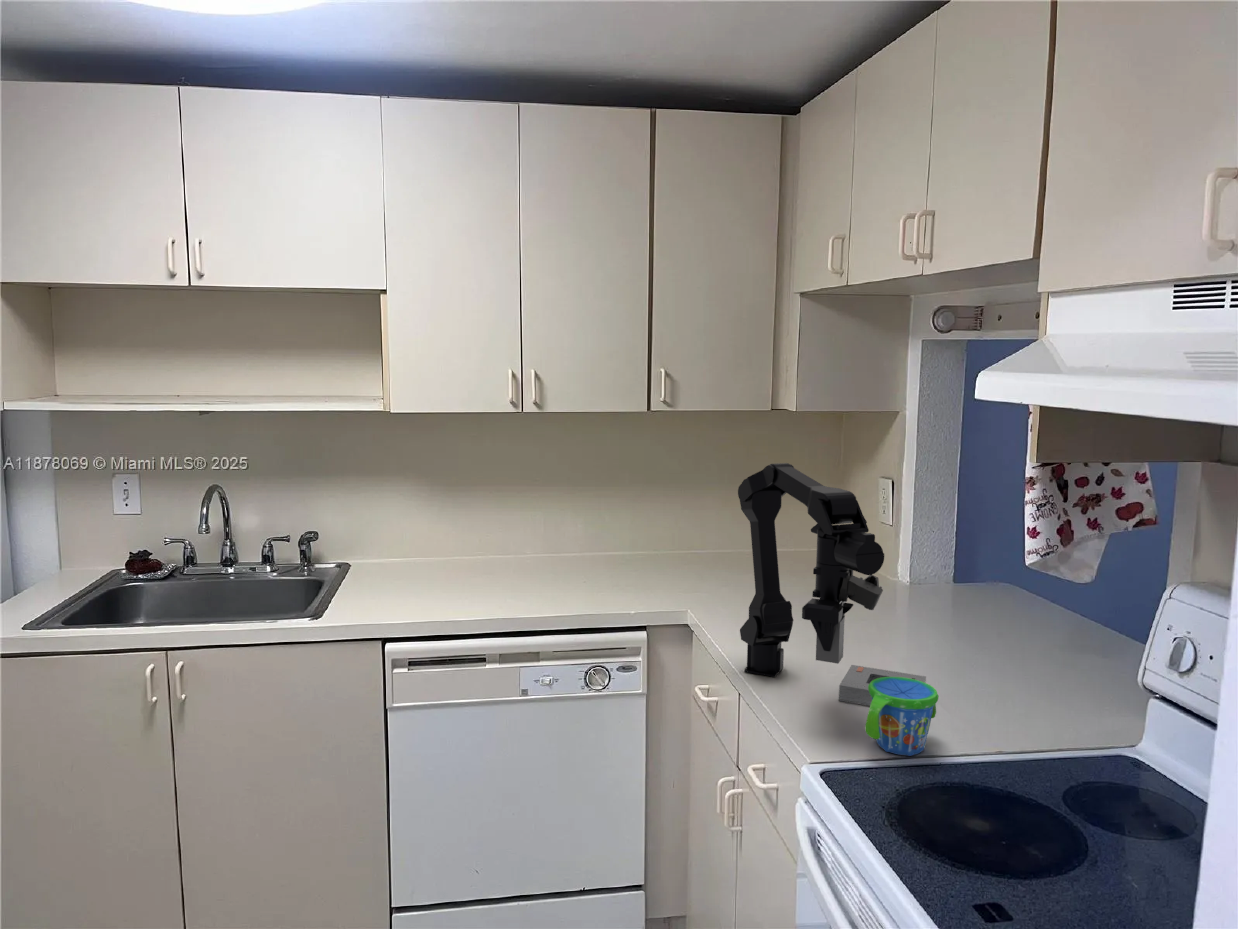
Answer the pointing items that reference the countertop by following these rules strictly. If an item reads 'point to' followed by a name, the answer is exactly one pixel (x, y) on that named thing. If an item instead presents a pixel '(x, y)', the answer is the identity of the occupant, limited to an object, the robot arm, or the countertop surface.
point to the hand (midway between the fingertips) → (829, 647)
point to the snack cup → (900, 714)
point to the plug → (836, 648)
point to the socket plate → (866, 683)
